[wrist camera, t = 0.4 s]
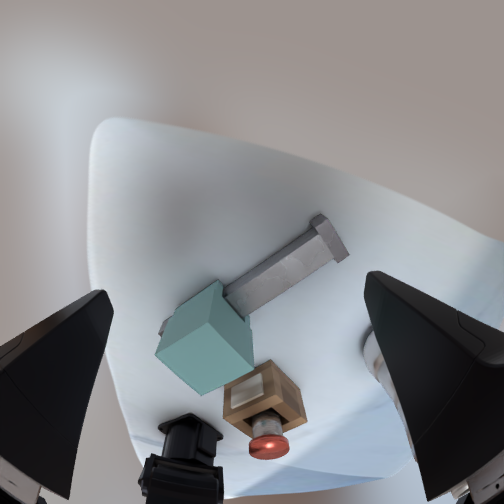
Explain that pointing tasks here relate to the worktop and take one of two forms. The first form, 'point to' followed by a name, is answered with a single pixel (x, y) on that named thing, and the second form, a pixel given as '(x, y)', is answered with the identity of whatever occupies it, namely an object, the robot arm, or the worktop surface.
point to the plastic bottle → (392, 390)
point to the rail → (284, 268)
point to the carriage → (207, 342)
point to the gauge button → (267, 436)
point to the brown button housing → (263, 398)
